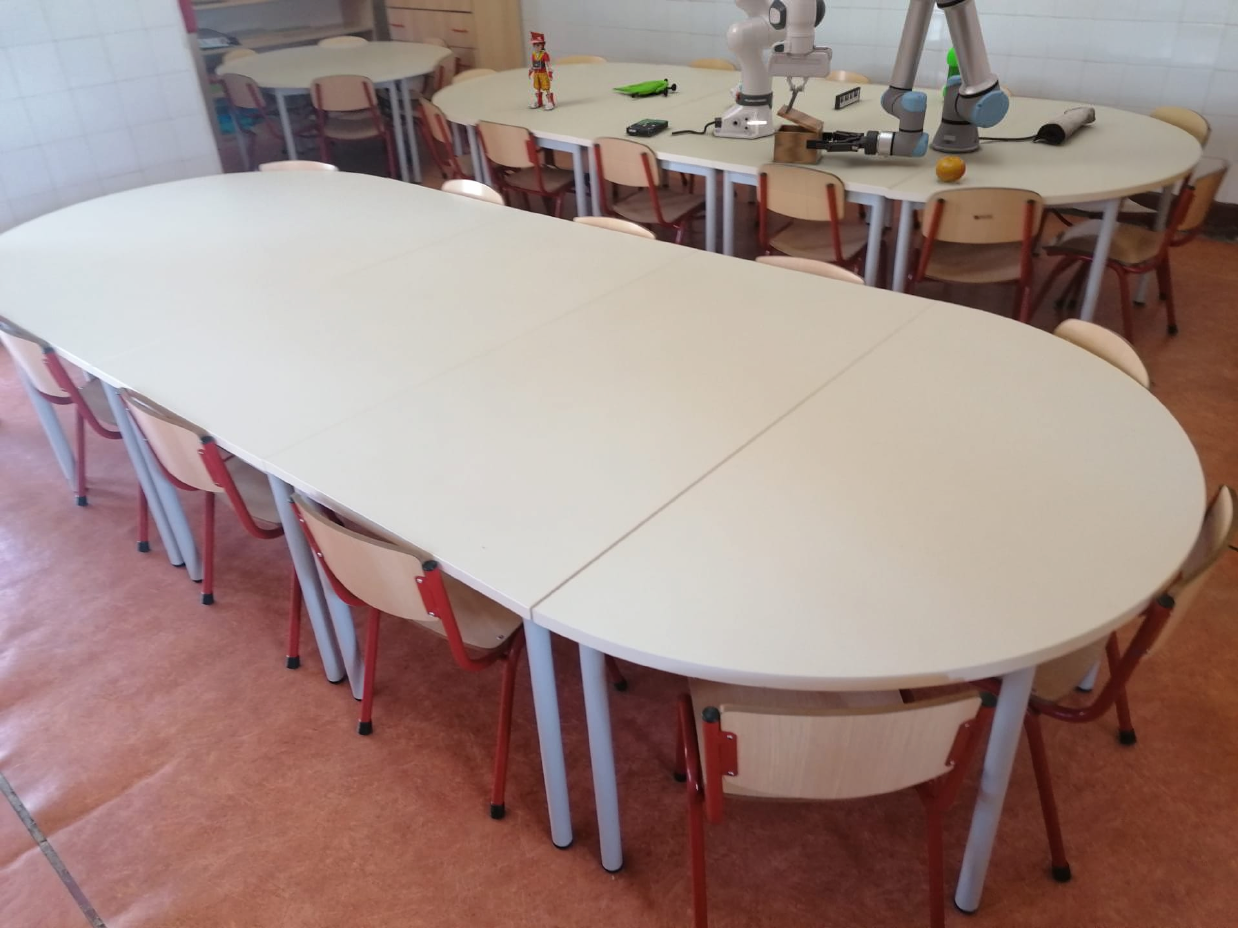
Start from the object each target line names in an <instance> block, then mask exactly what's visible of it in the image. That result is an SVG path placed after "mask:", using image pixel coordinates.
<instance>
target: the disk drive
mask: <svg viewBox="0 0 1238 928" xmlns="http://www.w3.org/2000/svg"><path fill="white" fill-rule="evenodd" d="M667 128H669V120H664V119H652V118H644V119H641V120H640V121H637V122H635V123H633V124H631V125H628V126H626V128H625V132H626V133H625V134H626V135H629V136H630V135H631V136H638V137H652V136H653V135H655V134H657V133H659V132H662V131H664V130H666V129H667Z"/></svg>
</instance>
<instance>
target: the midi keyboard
mask: <svg viewBox="0 0 1238 928" xmlns="http://www.w3.org/2000/svg"><path fill="white" fill-rule="evenodd" d="M860 97H861V86H856V87H853V88H852V89H849V90H846V91H844V92H842V93H839V94H837V95H835V100H834V110H839V109H841V108H843V107H846V106H848V105H850V104H852V103H855V102H857V101H860Z"/></svg>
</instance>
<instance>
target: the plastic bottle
mask: <svg viewBox="0 0 1238 928" xmlns="http://www.w3.org/2000/svg"><path fill="white" fill-rule="evenodd" d="M946 63H947V64H948V69H947V70H948V71H947V76H946V77H947V78H946V81H947V80H948V79H949V78H950V77H951V76H956V75H960V72H959V68H958V64H957V60H956V56H955V52H954V48H953V46H952V47H951V48H950V49H949V50H948V52H947V54H946ZM945 87H946V84H945V85H944V87H943V90H942V97H943V98H944V97H945Z"/></svg>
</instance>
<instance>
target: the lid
mask: <svg viewBox="0 0 1238 928" xmlns="http://www.w3.org/2000/svg"><path fill="white" fill-rule="evenodd" d="M799 86H800V85H799ZM799 86H797V87H795V90H794V91H791V92H792V93H791V95H792V96H791V98H790V100H789V102H788V105H787V104H785V103H784V104H783V105H782V106H781V108H779V110H778V111H777V113H776V116H777V117H780V118H782V119H785V120H787V121H789V122H791V123H794V124H795V125H800V126H802V127H805V128H807V129H809V130H811V131H813V132H816V133H818V132H819V131H820V129H821V128H822V126H824V124H825V121H823V120H820V119H818V118H816V117H814V116H811V115H809V114H808V113H805V112H802V111H800V110H798V109H796V108H793V105H794V103H795V101H796V98H797V96H798V94H799V93H800V92H799Z"/></svg>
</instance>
